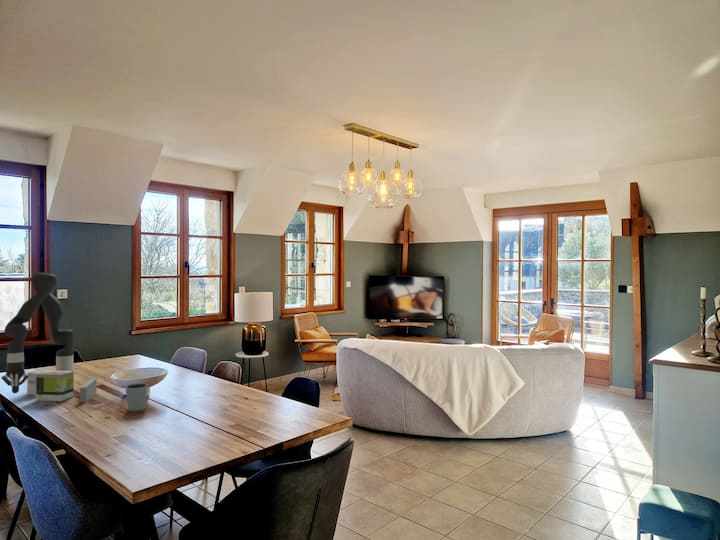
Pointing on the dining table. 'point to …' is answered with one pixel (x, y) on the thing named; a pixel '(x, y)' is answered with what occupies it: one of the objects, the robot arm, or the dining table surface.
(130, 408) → the grey green open cylinder
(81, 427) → the dining table surface
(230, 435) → the dining table surface
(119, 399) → the dining table surface
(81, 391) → the stop board
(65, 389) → the tea box
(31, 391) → the supplement box
